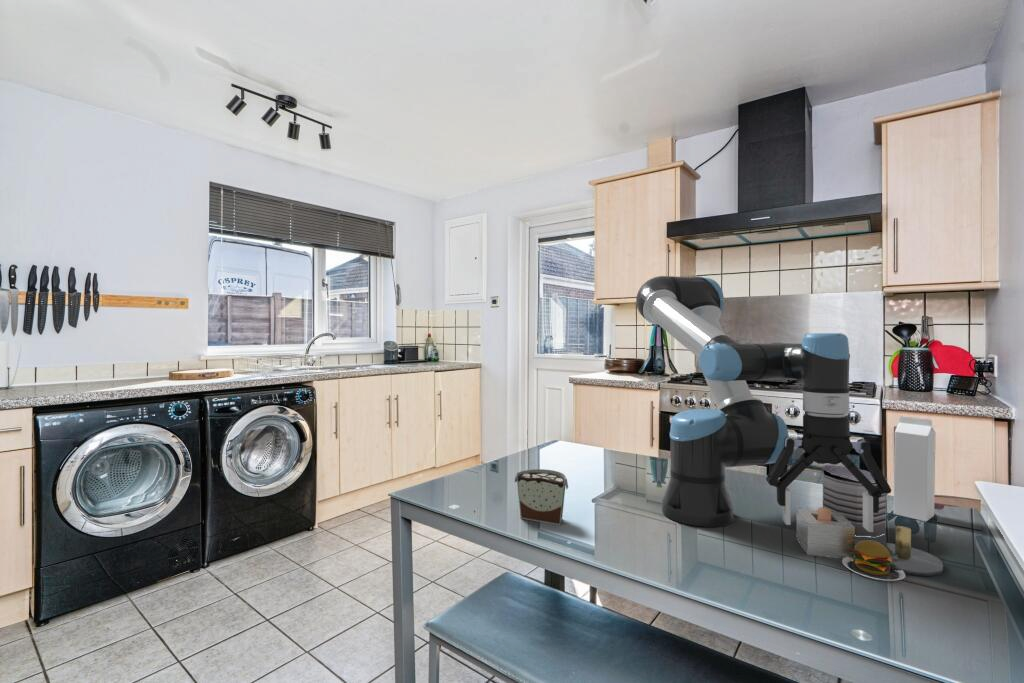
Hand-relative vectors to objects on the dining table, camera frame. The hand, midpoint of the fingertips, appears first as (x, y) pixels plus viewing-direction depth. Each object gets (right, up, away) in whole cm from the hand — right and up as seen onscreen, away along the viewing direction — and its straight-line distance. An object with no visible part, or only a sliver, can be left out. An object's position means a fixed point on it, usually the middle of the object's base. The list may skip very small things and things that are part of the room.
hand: (826, 525), depth 95 cm
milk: (+31, -4, +18) cm, 36 cm away
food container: (-52, -5, +17) cm, 55 cm away
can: (+12, -5, +11) cm, 17 cm away
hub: (+11, -5, -5) cm, 13 cm away
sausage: (0, -5, +1) cm, 5 cm away
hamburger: (+3, -6, -8) cm, 10 cm away
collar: (0, -5, 0) cm, 5 cm away
